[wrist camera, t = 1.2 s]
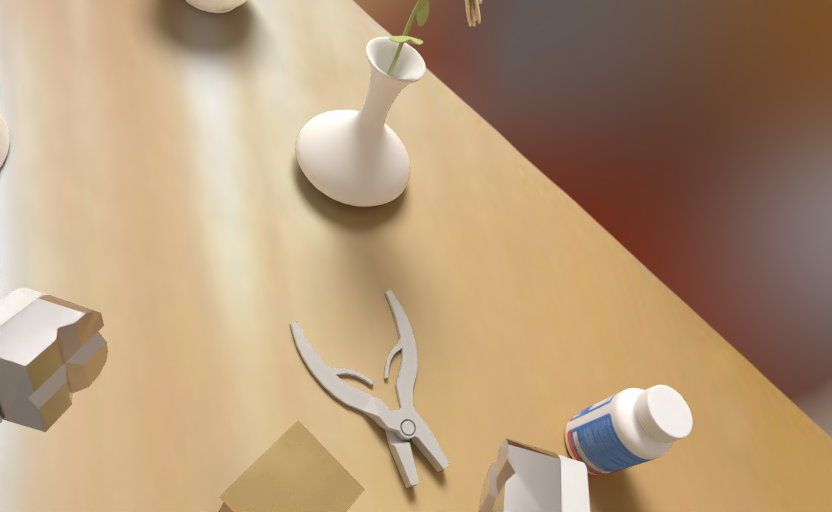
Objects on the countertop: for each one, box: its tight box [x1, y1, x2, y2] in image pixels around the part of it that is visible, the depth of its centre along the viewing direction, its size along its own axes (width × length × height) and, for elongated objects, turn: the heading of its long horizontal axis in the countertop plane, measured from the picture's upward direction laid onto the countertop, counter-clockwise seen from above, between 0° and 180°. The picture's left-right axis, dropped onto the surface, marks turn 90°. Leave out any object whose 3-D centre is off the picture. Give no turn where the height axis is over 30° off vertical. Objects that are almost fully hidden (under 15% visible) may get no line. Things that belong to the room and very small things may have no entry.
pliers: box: [290, 290, 449, 488], centre depth 43 cm, size 10×2×15 cm
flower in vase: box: [295, 0, 482, 207], centre depth 44 cm, size 13×11×25 cm
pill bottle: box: [565, 385, 692, 475], centre depth 43 cm, size 6×5×10 cm
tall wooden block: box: [219, 421, 364, 512], centre depth 30 cm, size 5×5×12 cm
